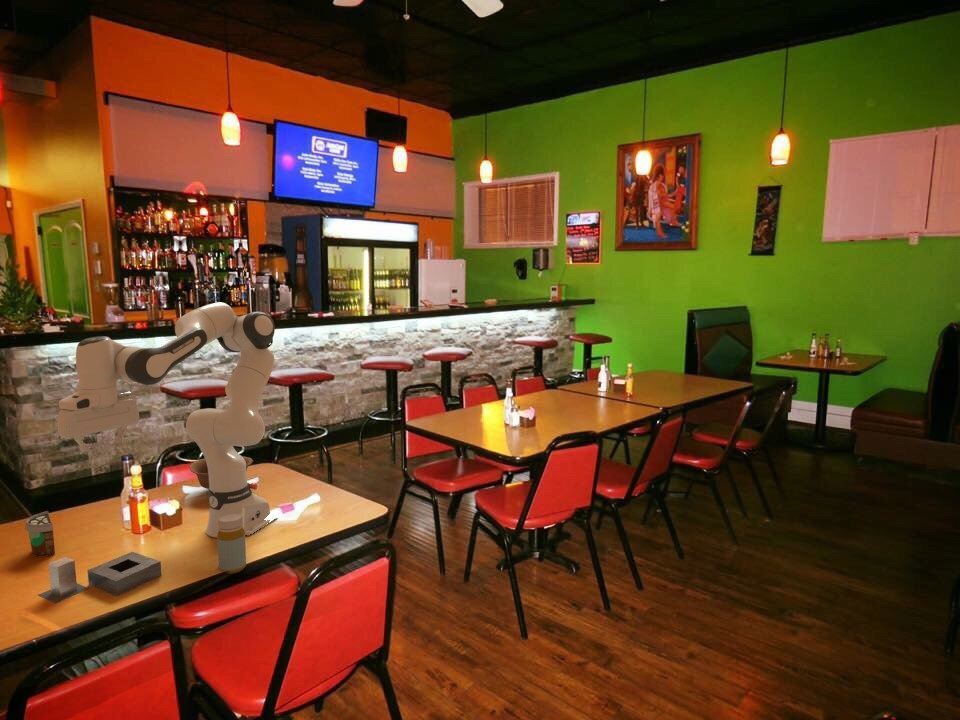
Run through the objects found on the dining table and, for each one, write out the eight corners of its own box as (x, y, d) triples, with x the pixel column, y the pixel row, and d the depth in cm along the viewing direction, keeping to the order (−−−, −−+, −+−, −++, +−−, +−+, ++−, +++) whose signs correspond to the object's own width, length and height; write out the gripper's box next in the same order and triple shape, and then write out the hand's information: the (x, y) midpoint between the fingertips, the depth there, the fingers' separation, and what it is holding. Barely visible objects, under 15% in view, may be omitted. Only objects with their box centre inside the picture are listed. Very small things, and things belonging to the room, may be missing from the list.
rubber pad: (71, 584, 159) (71, 580, 159) (89, 592, 155) (89, 588, 155) (37, 598, 152) (37, 595, 152) (56, 606, 148) (55, 603, 148)
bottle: (250, 562, 172) (247, 512, 169) (241, 574, 165) (238, 522, 163) (225, 562, 171) (222, 512, 169) (215, 574, 164) (212, 522, 162)
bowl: (202, 506, 213) (200, 476, 211) (182, 489, 229) (181, 461, 227) (263, 491, 227) (262, 463, 226) (241, 476, 244) (239, 450, 242)
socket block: (133, 568, 167) (132, 551, 167) (161, 578, 162) (160, 561, 161) (89, 588, 157) (87, 570, 156) (117, 599, 151) (116, 581, 151)
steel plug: (68, 586, 156) (65, 556, 155) (77, 589, 154) (74, 560, 153) (51, 593, 152) (48, 563, 151) (60, 597, 151) (57, 566, 150)
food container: (25, 547, 180) (22, 515, 178) (51, 541, 184) (48, 510, 182) (29, 562, 170) (25, 529, 169) (55, 556, 174) (52, 523, 173)
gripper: (128, 389, 174) (132, 436, 176) (51, 402, 156) (56, 454, 158) (142, 391, 171) (146, 439, 173) (65, 405, 153) (70, 458, 155)
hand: (102, 446), depth 165 cm, fingers open, 8 cm apart
